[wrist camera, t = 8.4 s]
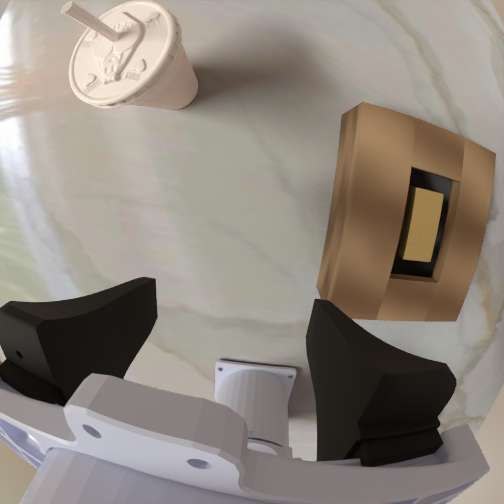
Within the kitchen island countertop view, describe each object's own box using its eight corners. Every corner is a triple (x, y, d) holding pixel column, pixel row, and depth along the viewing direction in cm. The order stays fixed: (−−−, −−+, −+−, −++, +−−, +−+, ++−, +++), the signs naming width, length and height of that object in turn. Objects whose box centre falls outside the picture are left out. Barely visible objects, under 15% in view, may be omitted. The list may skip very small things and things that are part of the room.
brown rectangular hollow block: (430, 295, 22) (455, 321, 17) (316, 286, 23) (327, 316, 18) (460, 151, 18) (495, 153, 13) (341, 115, 18) (362, 102, 13)
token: (404, 244, 21) (430, 262, 17) (380, 241, 21) (402, 259, 17) (414, 187, 19) (443, 194, 15) (389, 181, 20) (416, 187, 15)
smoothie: (216, 50, 17) (152, -62, 4) (214, 123, 19) (122, 63, 6) (142, 61, 17) (31, -4, 4) (138, 130, 19) (1, 114, 6)
